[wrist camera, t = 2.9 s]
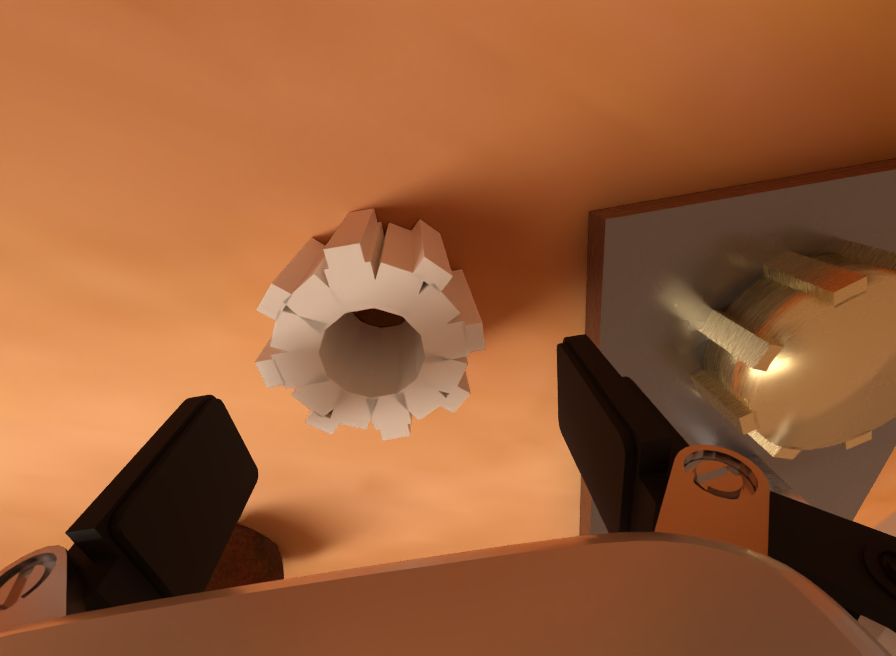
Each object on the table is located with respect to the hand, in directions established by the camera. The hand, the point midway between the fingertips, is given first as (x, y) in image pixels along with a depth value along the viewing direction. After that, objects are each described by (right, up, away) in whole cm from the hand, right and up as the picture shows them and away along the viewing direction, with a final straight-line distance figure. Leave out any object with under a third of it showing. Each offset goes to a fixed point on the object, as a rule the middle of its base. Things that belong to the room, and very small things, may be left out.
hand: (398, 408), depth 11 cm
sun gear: (+17, +2, +7) cm, 19 cm away
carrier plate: (+18, -2, +11) cm, 21 cm away
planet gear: (-1, +4, +6) cm, 7 cm away
